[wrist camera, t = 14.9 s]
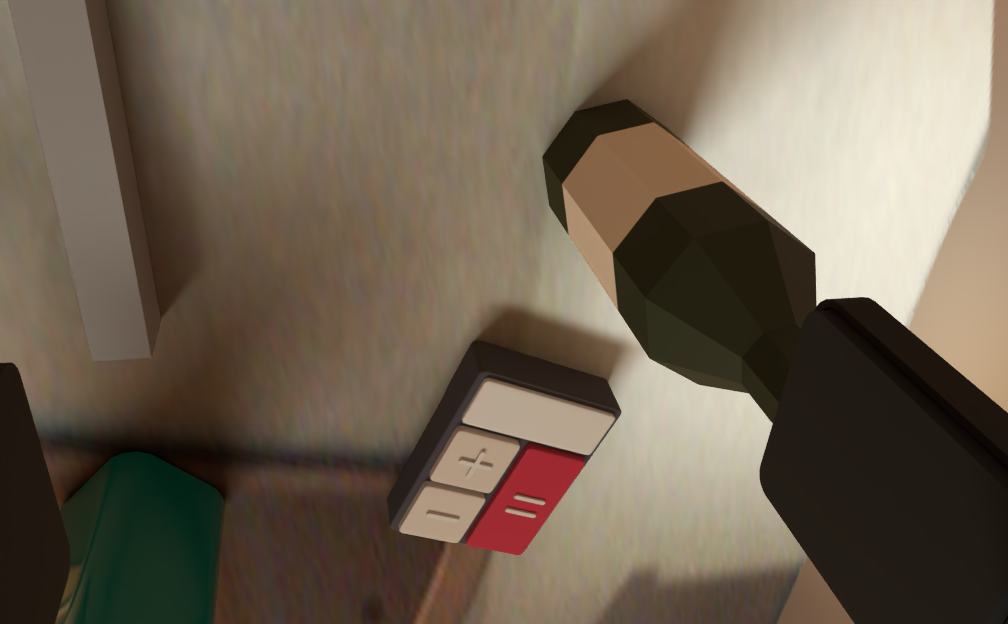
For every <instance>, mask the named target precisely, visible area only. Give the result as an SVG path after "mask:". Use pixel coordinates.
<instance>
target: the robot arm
mask: <svg viewBox="0 0 1008 624" xmlns="http://www.w3.org/2000/svg"><path fill="white" fill-rule="evenodd" d="M760 482H761V486H762V489H763V491H764V493H765V495H766V497H767V498H768V499H769V501H770V502H771V504H772V505H773V507H774V508H775V510H776V511H777V512H778V514H779V515H780V517H781V518H782V520H783V521H784V522H785V524H786V525H787V527H788V528H789V530H790V531H791V533H792V534H793V535H794V537H795V538H796V540H797V541H798V543H799V544H800V546H801V547H802V548H803V550H804V551H805V553H806V554H807V556H808V557H809V559H810V560H811V561H812V563H813V564H814V566H815V567H816V569H817V570H818V571H819V573H820V574H821V576H822V577H823V579H824V580H825V582H826V583H827V584H828V586H829V587H830V589H831V590H832V592H833V593H834V594H835V596H836V597H837V599H838V600H839V602H840V603H841V605H842V606H843V608H844V609H845V610H846V612H847V613H848V615H849V616H850V618H851V619H852V620H853V622H854V623H855V624H1008V413H1007V412H1006V411H1004V410H1003V409H1002V408H1001V407H1000V406H999V405H998V404H996V403H995V402H994V401H992V400H991V399H990V398H989V397H988V396H987V395H986V394H984V393H983V392H982V391H981V390H980V389H978V388H977V387H976V386H975V385H974V384H973V383H971V382H970V381H969V380H968V379H967V378H965V377H964V376H963V375H962V374H961V373H959V372H958V371H957V370H956V369H955V368H953V367H952V366H951V365H950V364H949V363H948V362H946V361H945V360H944V359H943V358H942V357H940V356H939V355H938V354H937V353H935V352H934V351H933V350H932V349H931V348H930V347H928V346H927V345H926V344H925V343H924V342H923V341H921V340H920V339H919V338H918V337H917V336H915V335H914V334H913V333H912V332H911V331H910V330H908V329H907V328H906V327H905V326H904V325H902V324H901V323H900V322H899V321H898V320H896V319H895V318H894V317H893V316H892V315H891V314H889V313H888V312H887V311H886V310H885V309H883V308H882V307H881V306H880V305H879V304H877V303H876V302H875V301H873V300H872V299H870V298H865V297H858V298H842V299H826V300H824V301H822V302H820V303H819V304H818V306H817V307H816V308H815V311H813V312H810V313H809V314H808V315H807V316H806V317H805V320H804V322H803V325H802V328H801V332H800V335H799V338H798V342H797V345H796V348H795V352H794V355H793V358H792V362H791V365H790V368H789V372H788V375H787V378H786V382H785V385H784V389H783V392H782V395H781V399H780V402H779V405H778V409H777V412H776V415H775V419H774V422H773V425H772V429H771V432H770V435H769V439H768V442H767V445H766V449H765V452H764V456H763V459H762V462H761V466H760ZM69 571H70V546H69V542H68V538H67V534H66V531H65V528H64V524H63V521H62V517H61V514H60V510H59V507H58V503H57V500H56V497H55V493H54V490H53V486H52V483H51V479H50V476H49V472H48V469H47V466H46V462H45V459H44V455H43V452H42V448H41V445H40V441H39V438H38V434H37V431H36V428H35V424H34V421H33V417H32V414H31V410H30V407H29V403H28V400H27V397H26V393H25V390H24V386H23V383H22V379H21V376H20V373H19V371H18V368H17V367H16V366H15V364H13V363H0V624H55V622H56V618H57V615H58V612H59V608H60V605H61V601H62V598H63V594H64V591H65V587H66V584H67V580H68V576H69Z"/></svg>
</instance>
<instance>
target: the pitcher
mask: <svg viewBox="0 0 1008 624" xmlns="http://www.w3.org/2000/svg"><path fill="white" fill-rule="evenodd" d="M224 511H225V506H224V500H223V497H222V495H221V494H220V493H219V491H218V490H217V489H216V488H215V487H213V486H211V485H209V484H207V483H205V482H203V481H202V480H200V479H198V478H196V477H194V476H192V475H190V474H188V473H186V472H185V471H183V470H181V469H179V468H177V467H175V466H173V465H171V464H169V463H168V462H166V461H164V460H162V459H160V458H158V457H156V456H154V455H152V454H150V453H145V452H139V451H134V452H124V453H121V454H119V455H116V456H114V457H112V458H110V459H109V460H108V461H107V462H106V463H105V464H104V465H103V466H102V467H101V468H100V469H99V470H98V471H97V472H96V473H95V474H94V475H93V476H92V477H91V478H90V479H89V480H88V481H87V482H86V483H85V484H84V485H83V486H82V487H81V488H80V489H79V490H78V491H77V492H76V493H75V494H74V495H73V496H72V497H71V498H70V499H69V500H68V501H67V502H66V503H65V504H64V505H63V506H62V507H61V510H60V514H61V517H62V521H63V524H64V528H65V531H66V534H67V538H68V542H69V546H70V571H69V576H68V580H67V584H66V587H65V591H64V594H63V598H62V601H61V605H60V608H59V612H58V615H57V618H56V622H55V624H214V619H215V609H216V598H217V587H218V576H219V565H220V554H221V543H222V533H223V522H224Z"/></svg>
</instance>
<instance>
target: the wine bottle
mask: <svg viewBox="0 0 1008 624" xmlns="http://www.w3.org/2000/svg"><path fill="white" fill-rule="evenodd" d="M542 158H543V165H544V172H545V179H546V186H547V193H548V200H549V206H550V207H551V209H552V210H553V212H554V213H555V215H556V216H557V218H558V220H559V221H560V223H561V224H562V226H563V227H564V229H565V230H566V232H567V233H568V235H569V236H570V238H571V239H572V241H573V242H574V244H575V245H576V247H577V248H578V250H579V252H580V253H581V255H582V256H583V258H584V259H585V261H586V262H587V264H588V265H589V267H590V268H591V270H592V271H593V273H594V274H595V276H596V277H597V279H598V281H599V282H600V284H601V285H602V287H603V288H604V290H605V291H606V293H607V294H608V296H609V297H610V299H611V300H612V302H613V303H614V305H615V306H616V308H617V309H618V311H619V313H620V314H621V316H622V317H623V319H624V320H625V322H626V323H627V325H628V326H629V328H630V329H631V331H632V332H633V334H634V335H635V337H636V338H637V340H638V341H639V343H640V345H641V346H642V348H643V349H644V351H645V352H646V354H647V355H648V357H649V358H650V359H652V360H654V361H655V362H657V363H659V364H661V365H663V366H665V367H667V368H669V369H670V370H672V371H674V372H676V373H678V374H680V375H682V376H684V377H685V378H687V379H689V380H691V381H693V382H695V383H697V384H699V385H704V386H710V387H715V388H721V389H727V390H733V391H739V392H745V393H749V394H750V395H751V396H752V398H753V399H754V400H755V402H756V403H757V404H758V405H759V407H760V408H761V409H762V410H763V412H764V413H765V414H766V416H767V417H768V418H769V419H770V421H771V422H772V423H773V422H774V419H775V415H776V412H777V409H778V405H779V402H780V399H781V395H782V392H783V389H784V385H785V382H786V378H787V375H788V372H789V368H790V365H791V362H792V358H793V355H794V352H795V348H796V345H797V342H798V338H799V335H800V332H801V328H802V325H803V322H804V320H805V317H806V316H807V315H808V314H809V313H810V312H813V311H815V308H816V268H815V253H814V252H813V251H811V250H810V249H809V248H808V247H807V246H806V245H804V244H803V243H802V242H801V241H800V240H798V239H797V238H796V237H795V236H794V235H793V234H791V233H790V232H789V231H788V230H787V229H785V228H784V227H783V226H782V225H781V224H780V223H778V222H777V221H776V220H775V219H774V218H772V217H771V216H770V215H769V214H768V213H767V212H765V211H764V210H763V209H762V208H761V207H759V206H758V205H757V204H756V203H755V202H754V201H752V200H751V199H750V198H749V197H748V196H746V195H745V194H744V193H743V192H742V191H741V190H739V189H738V188H737V187H736V186H735V185H733V184H732V183H731V182H730V181H729V180H728V179H726V178H725V177H724V176H723V175H722V174H720V173H719V172H718V171H717V170H716V169H715V168H713V167H712V166H711V165H710V164H709V163H707V162H706V161H705V160H704V159H703V158H702V157H700V156H699V155H698V154H697V153H696V152H694V151H693V150H692V149H691V148H690V147H689V146H687V145H686V144H685V143H684V142H683V141H681V140H680V139H679V138H678V137H677V136H676V135H674V134H673V133H672V132H671V131H670V130H668V129H667V128H666V127H665V126H663V125H662V124H661V123H659V122H658V121H656V120H655V119H654V118H652V117H651V116H650V115H648V114H647V113H645V112H644V111H643V110H641V109H640V108H639V107H637V106H636V105H634V104H633V103H632V102H630V101H629V100H628V99H627V100H622V101H618V102H614V103H610V104H605V105H601V106H597V107H593V108H588V109H584V110H580V111H576V112H574V114H573V115H572V116H571V118H570V119H569V121H568V122H567V123H566V125H565V126H564V128H563V129H562V130H561V132H560V133H559V135H558V136H557V137H556V139H555V140H554V141H553V143H552V144H551V146H550V147H549V148H548V150H547V151H546V153H545V154H544V155H543V157H542Z"/></svg>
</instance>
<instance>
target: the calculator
mask: <svg viewBox="0 0 1008 624" xmlns="http://www.w3.org/2000/svg"><path fill="white" fill-rule="evenodd" d="M620 415H621V409H620V407H619V405H618V403H617V401H616V399H615V397H614V395H613V392H612V390H611V388H610V386H609V384H608V382H607V380H606V379H603V378H600V377H597V376H594V375H590V374H587V373H584V372H581V371H577V370H574V369H571V368H568V367H564V366H561V365H558V364H554V363H551V362H548V361H545V360H541V359H538V358H535V357H532V356H528V355H525V354H522V353H519V352H515V351H512V350H509V349H506V348H502V347H499V346H496V345H493V344H489V343H486V342H483V341H478V340H477V341H474V342H472V343H471V345H470V346H469V348H468V350H467V352H466V354H465V356H464V358H463V359H462V361H461V363H460V365H459V367H458V369H457V370H456V372H455V374H454V376H453V378H452V380H451V382H450V383H449V385H448V387H447V390H446V393H445V396H444V398H443V400H442V401H441V403H440V405H439V407H438V408H437V410H436V412H435V414H434V415H433V417H432V419H431V421H430V422H429V424H428V426H427V428H426V429H425V431H424V433H423V435H422V436H421V438H420V440H419V442H418V443H417V445H416V447H415V449H414V450H413V452H412V454H411V456H410V458H409V460H408V462H407V463H406V465H405V467H404V469H403V471H402V473H401V474H400V476H399V478H398V480H397V482H396V484H395V486H394V487H393V489H392V491H391V493H390V495H389V497H388V499H387V504H388V514H389V523H390V528H391V529H393V530H396V531H400V532H402V533H406V534H411V535H416V536H421V537H426V538H432V539H437V540H442V541H447V542H452V543H457V542H458V543H463V544H467V545H469V546H473V547H478V548H483V549H489V550H494V551H499V552H504V553H509V554H514V555H521V554H522V553H523V552H524V551H525V549H526V548H527V547H528V545H529V544H530V542H531V541H532V540H533V538H534V537H535V535H536V534H537V532H538V531H539V530H540V528H541V527H542V525H543V524H544V523H545V521H546V520H547V518H548V517H549V515H550V514H551V513H552V511H553V510H554V508H555V507H556V506H557V504H558V503H559V501H560V500H561V498H562V497H563V496H564V494H565V493H566V491H567V490H568V489H569V487H570V486H571V484H572V483H573V481H574V480H575V479H576V477H577V476H578V474H579V473H580V472H581V470H582V469H583V467H584V466H585V464H586V463H587V462H588V460H589V459H590V457H591V456H592V455H593V453H594V452H595V450H596V449H597V447H598V446H599V445H600V443H601V442H602V440H603V439H604V438H605V436H606V435H607V433H608V432H609V430H610V429H611V428H612V426H613V425H614V423H615V422H616V421H617V419H618V418H619V416H620Z"/></svg>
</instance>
